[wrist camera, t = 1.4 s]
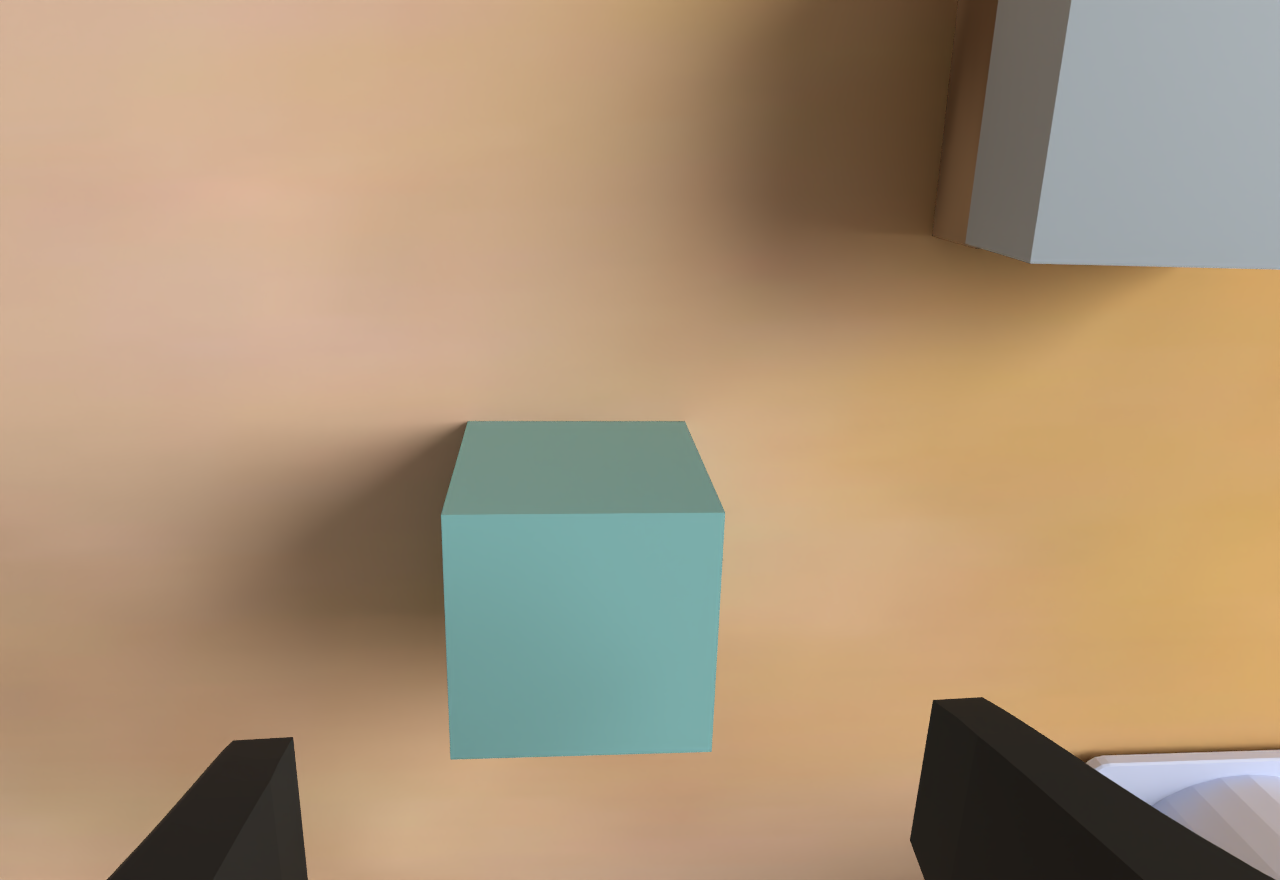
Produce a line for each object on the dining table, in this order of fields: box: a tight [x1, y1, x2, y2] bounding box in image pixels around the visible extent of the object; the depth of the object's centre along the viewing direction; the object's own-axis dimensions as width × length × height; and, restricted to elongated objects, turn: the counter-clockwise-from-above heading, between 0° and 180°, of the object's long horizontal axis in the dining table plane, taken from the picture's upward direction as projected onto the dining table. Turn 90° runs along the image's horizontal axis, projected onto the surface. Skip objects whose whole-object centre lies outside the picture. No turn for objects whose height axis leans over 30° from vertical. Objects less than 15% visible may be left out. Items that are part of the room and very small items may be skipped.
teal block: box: [441, 421, 725, 759], centre depth 18 cm, size 4×4×5 cm
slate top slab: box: [965, 0, 1280, 269], centre depth 15 cm, size 6×6×2 cm
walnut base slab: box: [932, 0, 998, 249], centre depth 18 cm, size 6×6×2 cm
